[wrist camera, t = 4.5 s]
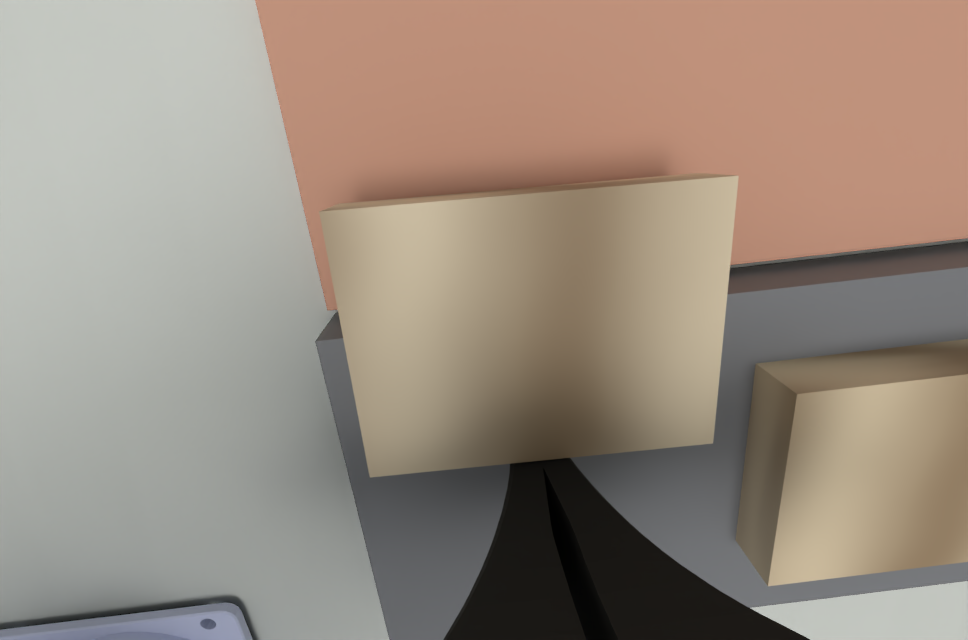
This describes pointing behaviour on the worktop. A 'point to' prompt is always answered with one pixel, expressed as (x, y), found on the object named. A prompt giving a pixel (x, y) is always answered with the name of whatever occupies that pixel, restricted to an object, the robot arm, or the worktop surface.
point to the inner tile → (534, 319)
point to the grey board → (669, 471)
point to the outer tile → (857, 463)
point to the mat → (637, 107)
